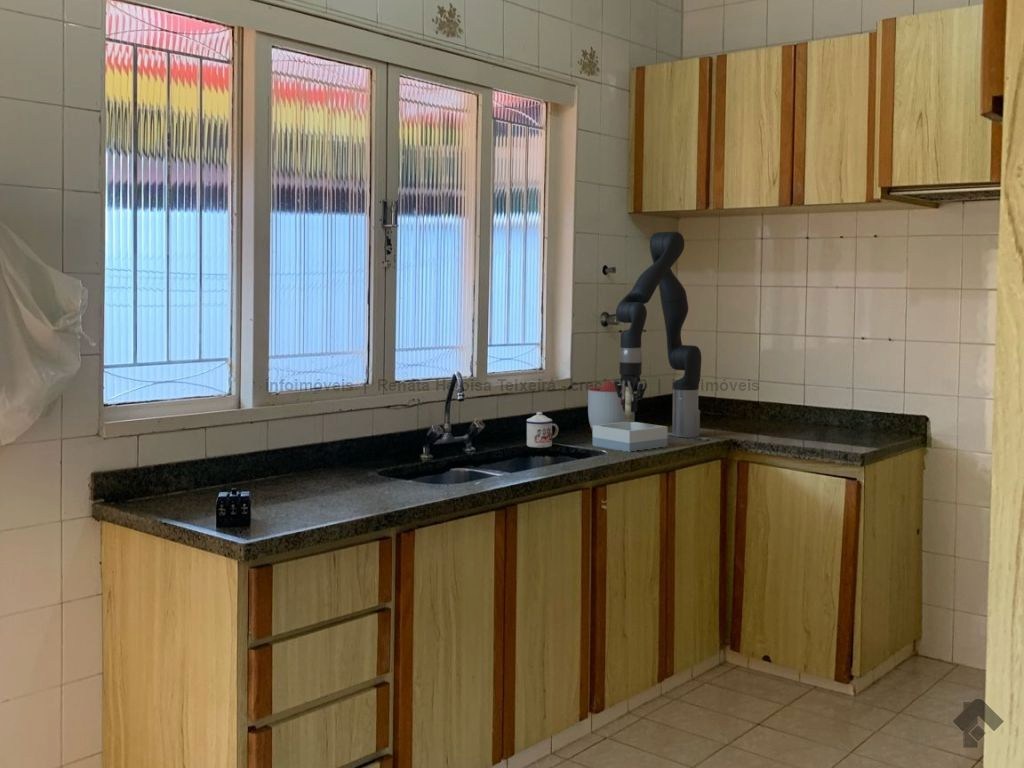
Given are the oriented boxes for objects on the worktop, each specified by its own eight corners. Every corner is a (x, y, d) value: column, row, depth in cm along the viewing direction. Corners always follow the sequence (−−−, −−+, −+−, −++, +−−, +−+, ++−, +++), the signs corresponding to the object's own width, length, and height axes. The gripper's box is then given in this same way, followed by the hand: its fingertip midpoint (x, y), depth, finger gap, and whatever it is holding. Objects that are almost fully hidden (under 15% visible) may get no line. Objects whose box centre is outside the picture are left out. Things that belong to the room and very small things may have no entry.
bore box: (630, 440, 368) (630, 421, 367) (667, 446, 353) (667, 426, 353) (592, 445, 356) (592, 425, 356) (629, 452, 342) (629, 431, 342)
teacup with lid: (534, 448, 350) (534, 414, 349) (521, 445, 358) (521, 411, 357) (564, 445, 356) (564, 412, 355) (550, 442, 364) (550, 409, 363)
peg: (629, 420, 356) (630, 386, 355) (636, 421, 354) (636, 386, 353) (623, 421, 354) (623, 386, 353) (629, 422, 352) (630, 387, 351)
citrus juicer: (619, 438, 374) (619, 383, 372) (579, 434, 384) (579, 380, 382) (641, 433, 386) (641, 380, 384) (601, 429, 397) (602, 377, 395)
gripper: (653, 361, 349) (652, 412, 351) (624, 359, 360) (623, 408, 362) (637, 362, 344) (636, 414, 346) (608, 360, 356) (607, 410, 357)
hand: (629, 411), depth 354 cm, fingers closed on peg, 3 cm apart
